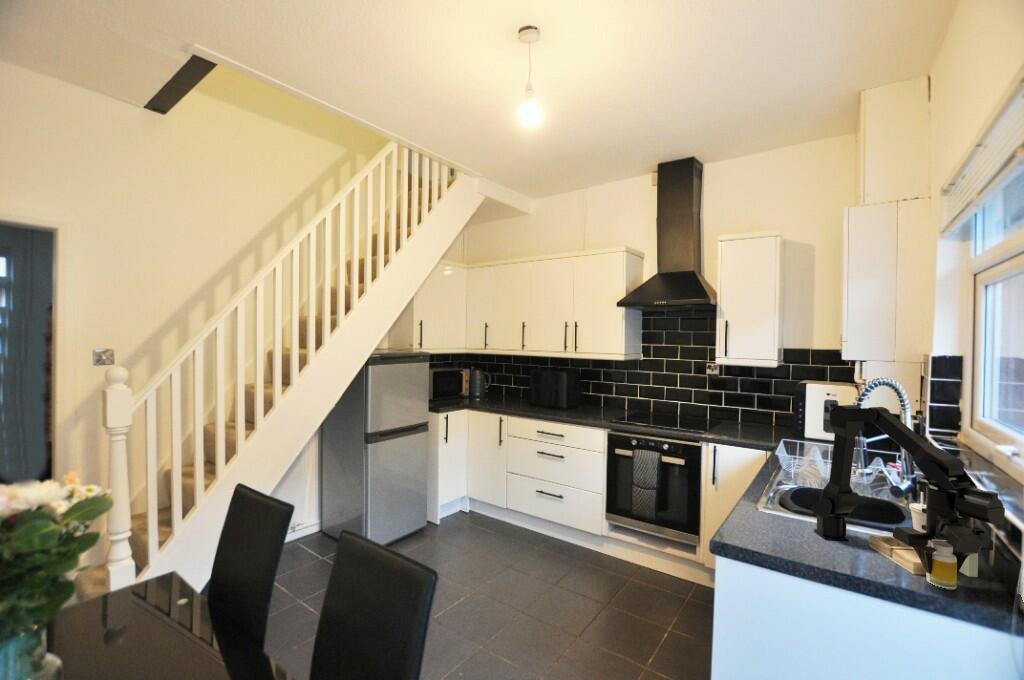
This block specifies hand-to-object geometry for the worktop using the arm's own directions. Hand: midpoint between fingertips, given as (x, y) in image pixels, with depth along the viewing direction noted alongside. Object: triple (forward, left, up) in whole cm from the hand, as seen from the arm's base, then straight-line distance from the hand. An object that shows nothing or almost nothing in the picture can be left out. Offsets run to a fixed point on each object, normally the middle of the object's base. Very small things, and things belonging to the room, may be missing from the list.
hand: (941, 573), depth 112 cm
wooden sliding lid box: (+1, +12, -2) cm, 13 cm away
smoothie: (+16, +26, -3) cm, 31 cm away
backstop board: (+11, +11, -2) cm, 16 cm away
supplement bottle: (0, 0, -3) cm, 3 cm away
